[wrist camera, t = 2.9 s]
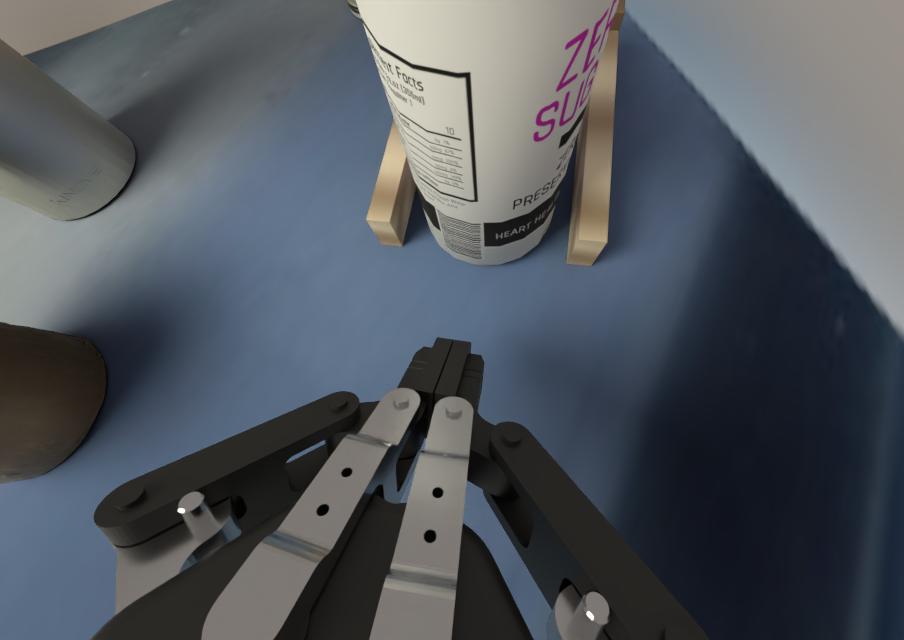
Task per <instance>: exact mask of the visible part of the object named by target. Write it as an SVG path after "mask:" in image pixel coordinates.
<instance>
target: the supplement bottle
mask: <svg viewBox="0 0 904 640" xmlns="http://www.w3.org/2000/svg"><path fill="white" fill-rule="evenodd" d="M347 2H348V5H349V7H350V10H351V12H352V13H353V14H354V15H355V16H356V17H358V18H360V19H362V18H361V15H360V12H359V9H358V6H357V3H356V0H347Z"/></svg>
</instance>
